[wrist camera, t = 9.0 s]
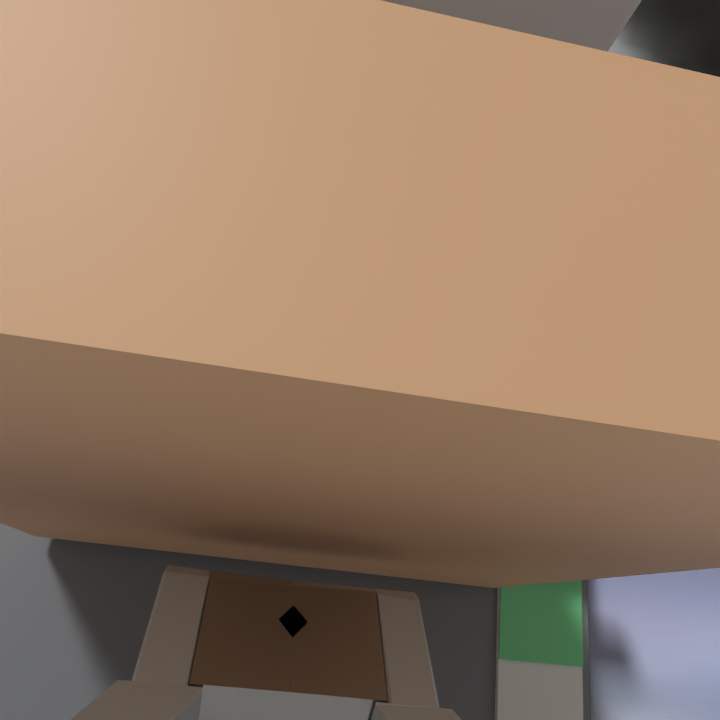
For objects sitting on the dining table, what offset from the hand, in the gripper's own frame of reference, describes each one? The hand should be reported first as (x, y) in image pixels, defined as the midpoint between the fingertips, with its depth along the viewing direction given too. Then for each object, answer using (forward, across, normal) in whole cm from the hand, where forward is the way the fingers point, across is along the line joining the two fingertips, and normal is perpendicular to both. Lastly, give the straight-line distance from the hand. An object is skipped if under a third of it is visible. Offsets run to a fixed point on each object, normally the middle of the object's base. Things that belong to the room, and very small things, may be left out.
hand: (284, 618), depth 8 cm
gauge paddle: (+4, +1, -1) cm, 4 cm away
